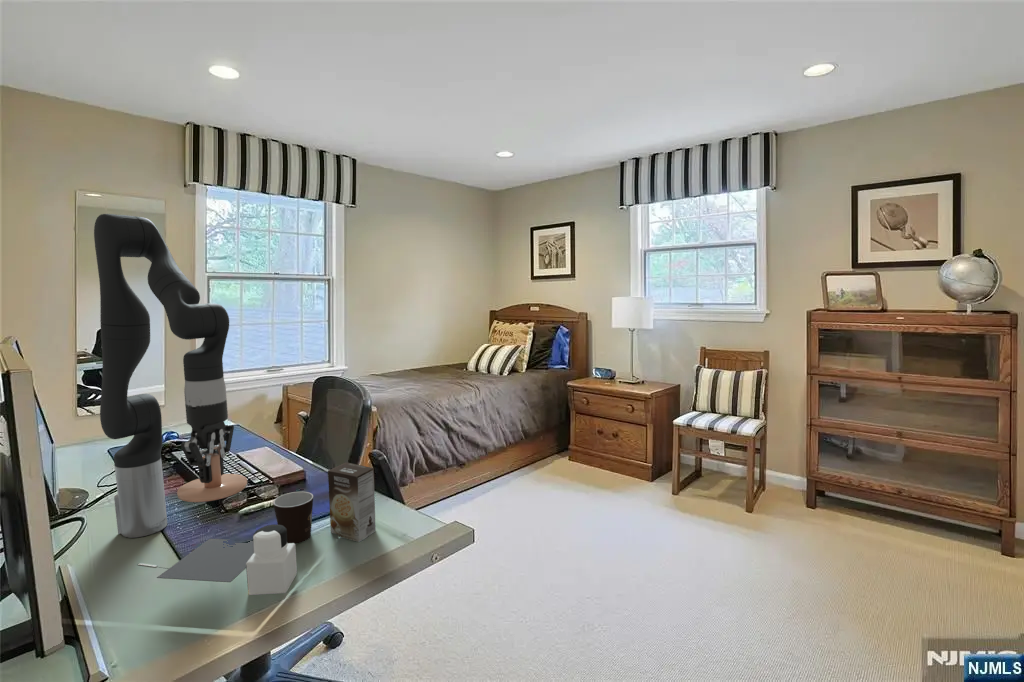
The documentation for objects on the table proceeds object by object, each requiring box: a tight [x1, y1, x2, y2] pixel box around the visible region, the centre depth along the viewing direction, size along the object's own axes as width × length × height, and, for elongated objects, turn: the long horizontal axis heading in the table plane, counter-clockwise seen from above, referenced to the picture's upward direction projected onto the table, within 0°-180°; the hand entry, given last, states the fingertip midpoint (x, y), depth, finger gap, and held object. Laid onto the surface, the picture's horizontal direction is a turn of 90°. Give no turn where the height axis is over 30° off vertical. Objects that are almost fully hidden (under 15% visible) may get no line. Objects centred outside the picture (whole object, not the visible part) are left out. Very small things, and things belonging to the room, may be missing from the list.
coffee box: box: [327, 461, 377, 543], centre depth 126 cm, size 9×6×16 cm
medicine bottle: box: [245, 524, 298, 596], centre depth 105 cm, size 7×7×12 cm
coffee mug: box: [272, 491, 314, 545], centre depth 125 cm, size 12×9×10 cm
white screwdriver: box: [137, 563, 170, 570], centre depth 111 cm, size 1×19×1 cm, turn 77°
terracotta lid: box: [176, 454, 248, 503], centre depth 113 cm, size 13×13×7 cm
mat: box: [156, 538, 254, 583], centre depth 115 cm, size 16×16×1 cm
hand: (212, 478), depth 113 cm, fingers closed on terracotta lid, 3 cm apart
